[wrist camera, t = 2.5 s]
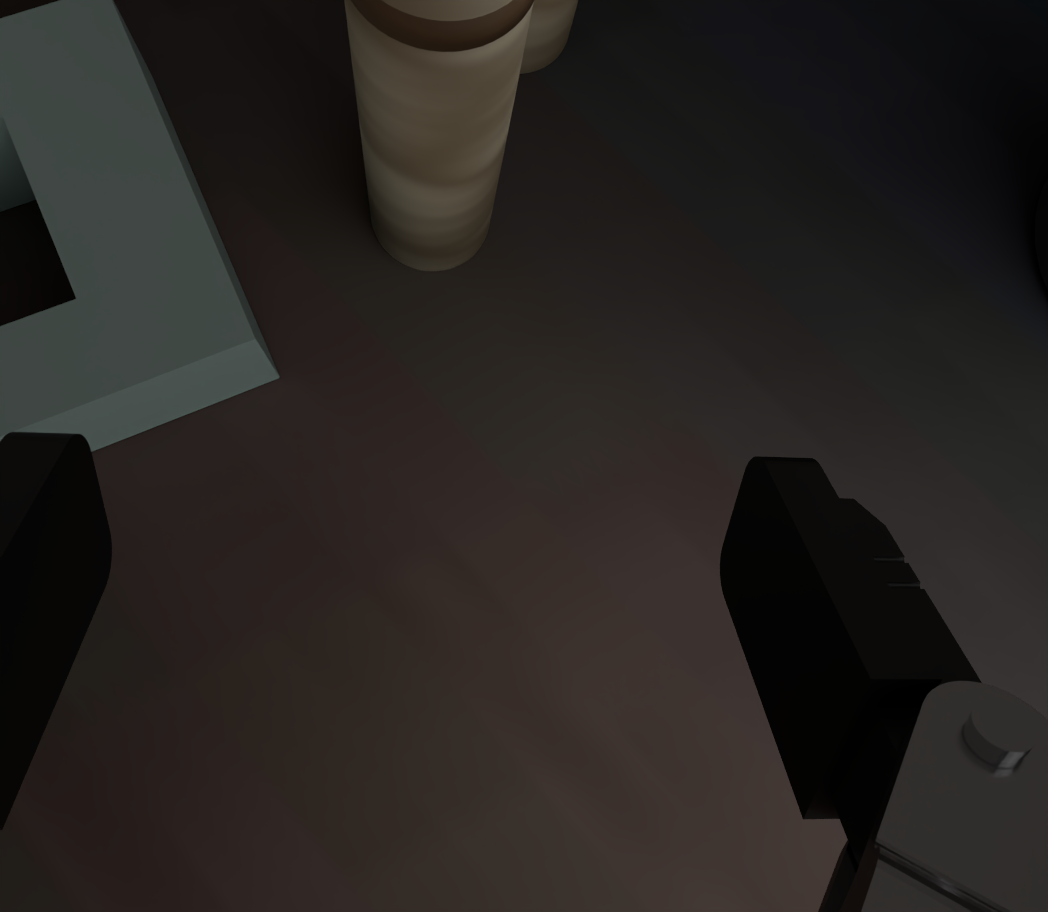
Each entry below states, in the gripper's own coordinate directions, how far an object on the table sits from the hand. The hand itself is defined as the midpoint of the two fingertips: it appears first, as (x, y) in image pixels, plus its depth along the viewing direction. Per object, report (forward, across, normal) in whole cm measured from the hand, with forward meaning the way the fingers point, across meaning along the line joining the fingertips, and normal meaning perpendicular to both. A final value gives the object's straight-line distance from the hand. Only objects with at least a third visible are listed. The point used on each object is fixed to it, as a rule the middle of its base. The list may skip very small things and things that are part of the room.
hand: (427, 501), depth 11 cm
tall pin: (+18, 0, +3) cm, 18 cm away
